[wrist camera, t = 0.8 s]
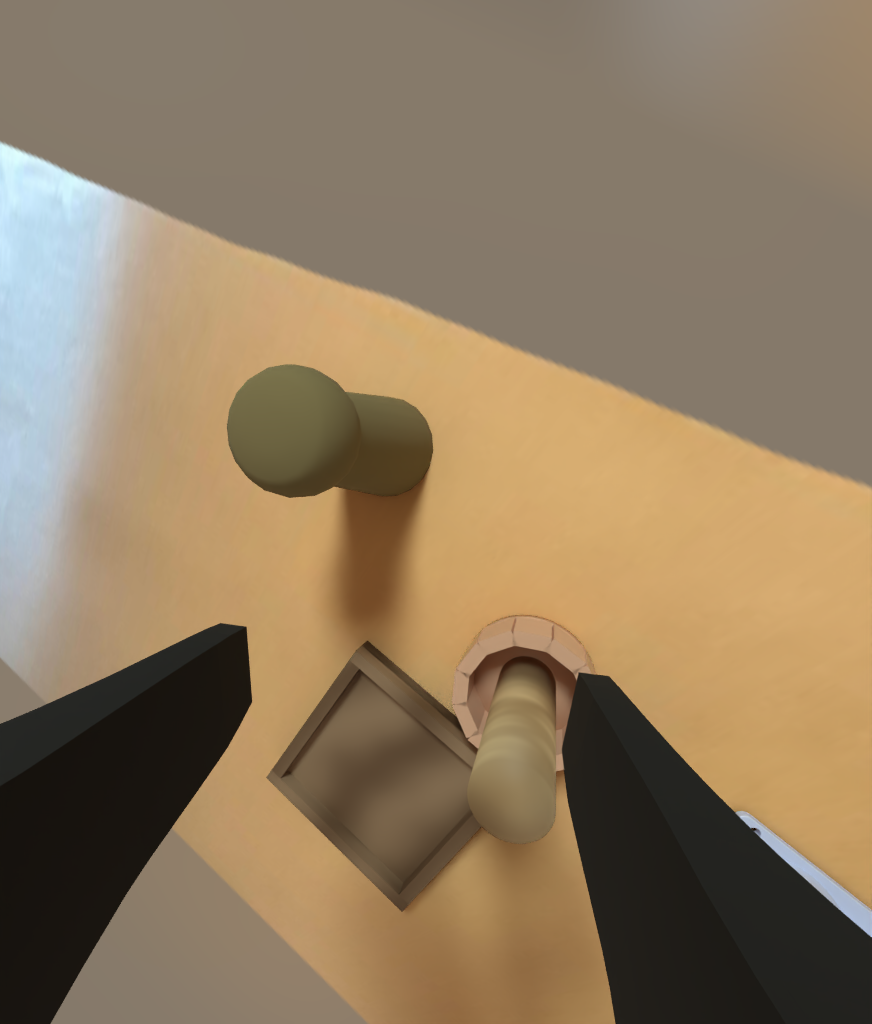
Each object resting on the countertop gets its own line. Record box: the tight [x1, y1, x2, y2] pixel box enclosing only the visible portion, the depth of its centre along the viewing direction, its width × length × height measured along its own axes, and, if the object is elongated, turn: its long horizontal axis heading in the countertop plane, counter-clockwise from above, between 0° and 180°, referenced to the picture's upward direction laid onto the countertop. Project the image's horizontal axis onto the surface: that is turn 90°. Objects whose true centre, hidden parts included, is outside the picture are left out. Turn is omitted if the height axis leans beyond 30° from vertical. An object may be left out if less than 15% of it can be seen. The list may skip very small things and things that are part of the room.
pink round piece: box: [452, 615, 597, 771], centre depth 23 cm, size 8×8×3 cm
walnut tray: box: [266, 641, 481, 911], centre depth 27 cm, size 12×12×2 cm
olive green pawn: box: [227, 365, 433, 498], centre depth 20 cm, size 6×6×11 cm
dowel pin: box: [467, 656, 556, 844], centre depth 19 cm, size 3×3×9 cm
